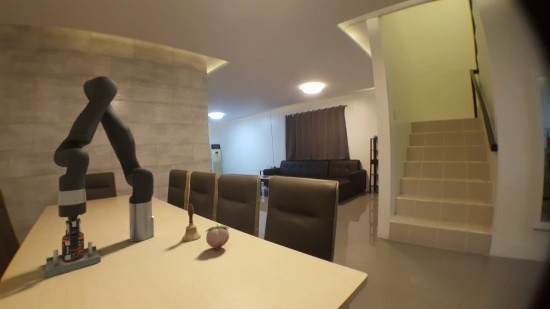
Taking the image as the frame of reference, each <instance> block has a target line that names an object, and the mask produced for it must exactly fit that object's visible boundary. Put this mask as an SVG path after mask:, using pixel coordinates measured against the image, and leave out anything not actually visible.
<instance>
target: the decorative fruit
mask: <svg viewBox="0 0 550 309" xmlns="http://www.w3.org/2000/svg"><path fill="white" fill-rule="evenodd" d="M229 230H230V227H228V226H227V225H218V223H217V224H216V226H211V227H209V228H207V230H205V233H206V235H205V237H206V243H207V244H208V245H209V247H212V248H214V249H220V248H222V247H223V246H224V245H225V244H226V243H228V241H229V239H230V233H229Z"/></svg>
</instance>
